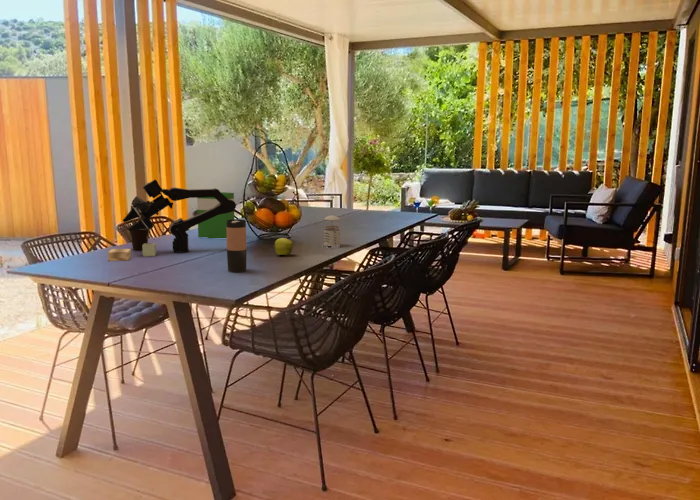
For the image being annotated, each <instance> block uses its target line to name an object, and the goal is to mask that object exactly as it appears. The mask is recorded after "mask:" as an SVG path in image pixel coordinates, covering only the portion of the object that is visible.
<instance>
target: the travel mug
mask: <svg viewBox="0 0 700 500" xmlns="http://www.w3.org/2000/svg"><path fill="white" fill-rule="evenodd" d="M226 225H227V239H226V259H227V260H226V261H227V271H228V272H230V273H243V272H246V271H247V249H248V247H247V220H246V219H238V218H237V219H235V218H234V219H232V220H227V221H226Z"/></svg>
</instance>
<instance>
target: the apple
mask: <svg viewBox="0 0 700 500" xmlns="http://www.w3.org/2000/svg"><path fill="white" fill-rule="evenodd" d="M273 247H274V250H275V253H276V254H277V255H278V256H280V255H285V256H289V255H290V254H291V253H292V251H293V247H294V243H293V241H292V240H290V239H288V238H286V237H285V238H284V237H280V238H278V239H276V240H275V241H274V245H273Z"/></svg>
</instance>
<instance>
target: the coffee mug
mask: <svg viewBox="0 0 700 500" xmlns="http://www.w3.org/2000/svg"><path fill="white" fill-rule="evenodd" d="M147 228H148V227H147ZM149 233H150V230H149V228H148V229H140V230H133V231H129V235H130V240H131V246H132V251H138V252H139V251H143V249H142V245H143V244H147V243H149Z"/></svg>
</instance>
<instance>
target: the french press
mask: <svg viewBox="0 0 700 500" xmlns="http://www.w3.org/2000/svg"><path fill="white" fill-rule="evenodd" d="M330 199H331V208H334V207H333V201H334V200H333V199H335V196H334V195H331V196H330ZM323 220H324V221H331V222H333V221H336V222H333V225H326V226H324V228H325V229H324V230H323V235H324V236H323V239H324V240H323V242H324V243H323V245H328V246H336V245H341V244H340V243H341V240H340V239H341V235H340V234H341V229H340V226H339V223H338V222H337V221H340V220H341V218H340V217H339V216H336V215H333V214H331V215H327V216H326V217H324V218H323Z"/></svg>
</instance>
